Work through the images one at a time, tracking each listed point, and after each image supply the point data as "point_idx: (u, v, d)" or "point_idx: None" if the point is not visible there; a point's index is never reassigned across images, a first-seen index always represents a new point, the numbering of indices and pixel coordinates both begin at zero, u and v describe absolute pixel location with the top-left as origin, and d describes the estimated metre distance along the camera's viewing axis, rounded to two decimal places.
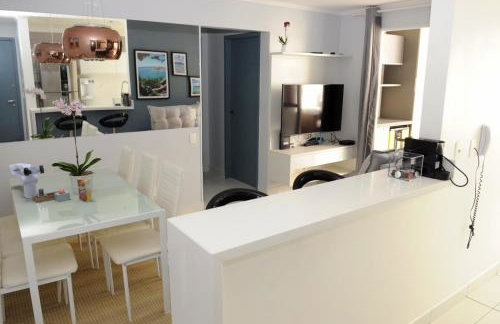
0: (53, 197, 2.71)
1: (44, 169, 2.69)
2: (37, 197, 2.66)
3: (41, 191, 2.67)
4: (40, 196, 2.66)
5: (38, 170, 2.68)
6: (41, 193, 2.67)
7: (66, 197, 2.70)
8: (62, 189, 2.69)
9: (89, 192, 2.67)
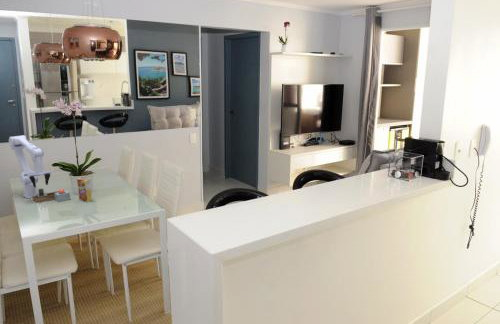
0: (53, 197, 2.71)
1: (49, 173, 2.70)
2: (37, 197, 2.66)
3: (41, 191, 2.67)
4: (40, 196, 2.66)
5: None
6: (41, 193, 2.67)
7: (66, 197, 2.70)
8: (62, 189, 2.69)
9: (89, 192, 2.67)
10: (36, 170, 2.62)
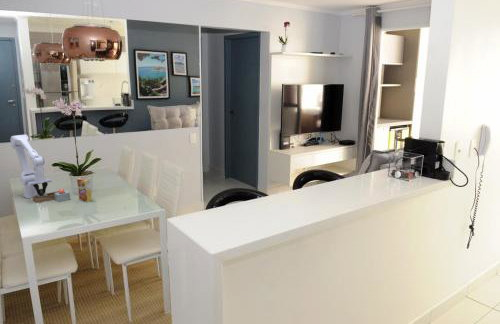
0: (53, 197, 2.71)
1: (50, 181, 2.72)
2: (37, 197, 2.66)
3: (41, 191, 2.67)
4: (40, 196, 2.66)
5: None
6: (41, 193, 2.67)
7: (66, 197, 2.70)
8: (62, 189, 2.69)
9: (89, 192, 2.67)
10: (37, 178, 2.63)
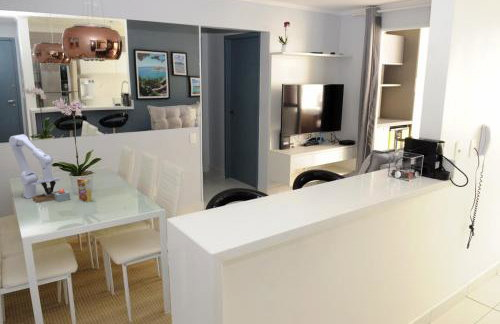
0: (53, 197, 2.71)
1: None
2: (45, 195, 2.69)
3: (49, 190, 2.70)
4: (48, 194, 2.69)
5: None
6: (49, 191, 2.71)
7: (66, 197, 2.70)
8: (62, 189, 2.69)
9: (89, 192, 2.67)
10: (45, 177, 2.67)
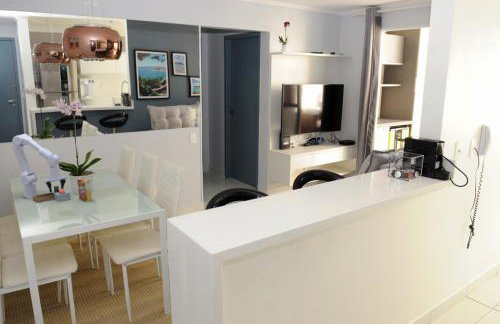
0: (53, 197, 2.71)
1: None
2: (53, 194, 2.73)
3: (56, 188, 2.74)
4: None
5: None
6: (56, 190, 2.74)
7: (66, 197, 2.70)
8: (62, 189, 2.69)
9: (89, 192, 2.67)
10: (52, 176, 2.70)
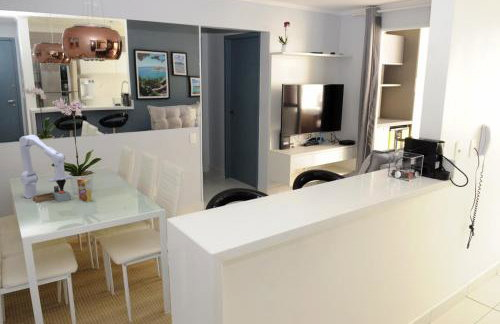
0: (53, 197, 2.71)
1: None
2: (53, 194, 2.73)
3: (56, 188, 2.74)
4: None
5: None
6: (56, 190, 2.74)
7: (66, 197, 2.70)
8: None
9: (89, 192, 2.67)
10: (57, 175, 2.64)
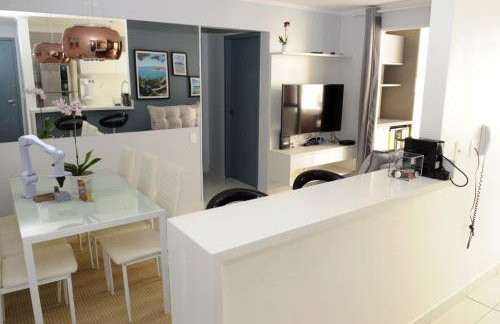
0: (53, 197, 2.71)
1: None
2: (53, 194, 2.73)
3: (56, 188, 2.74)
4: None
5: None
6: (56, 190, 2.74)
7: (66, 197, 2.70)
8: (62, 191, 2.69)
9: (89, 192, 2.67)
10: (57, 172, 2.64)
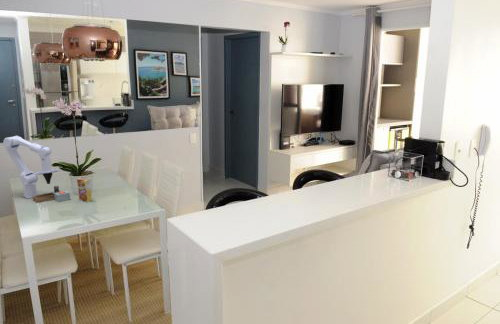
0: (53, 197, 2.71)
1: (57, 171, 2.76)
2: (53, 194, 2.73)
3: (56, 188, 2.74)
4: None
5: None
6: (56, 190, 2.74)
7: (66, 197, 2.70)
8: (62, 191, 2.69)
9: (89, 192, 2.67)
10: (44, 168, 2.67)
